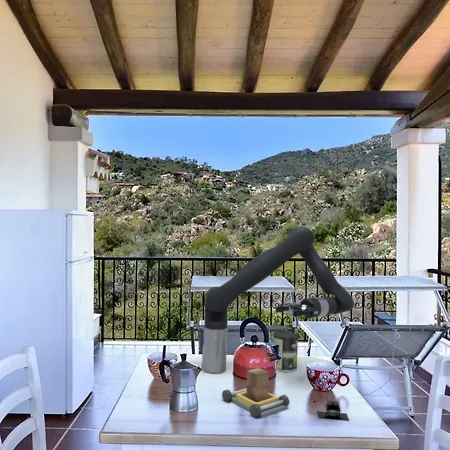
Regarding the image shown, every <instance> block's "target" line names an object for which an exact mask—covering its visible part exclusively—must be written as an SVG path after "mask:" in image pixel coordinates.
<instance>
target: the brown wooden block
mask: <svg viewBox="0 0 450 450" xmlns="http://www.w3.org/2000/svg"><path fill="white" fill-rule="evenodd" d="M246 372H247V373H246V374H247V375H246V377H247V378H246V388H247V398H248V399H250V400H252V401H254V402H256V403H257V402H260V401H264V400H267V399H268V393H269V385H270V384H269V382H270V381H269V380H270V371H267V370H264V369H262V368H259V367H257V368H253V369H248V370H247V371H246Z"/></svg>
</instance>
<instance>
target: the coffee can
mask: <svg viewBox="0 0 450 450" xmlns="http://www.w3.org/2000/svg"><path fill="white" fill-rule="evenodd" d="M272 334H273V340H272V341H273V344H275V345H279V351H280V354H281V359H280V360H277V361H276V369H277V370H278V371H277V370H276V371H277V372H283V373H292V372H293V373H294V372H296V371H297V370H298V350H299V349H298V345H299V334H298V333H295V332H293V331H292V332H291V331H281V330H280V331H274V332H273V333H272ZM273 344H272V345H273Z"/></svg>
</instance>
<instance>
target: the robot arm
mask: <svg viewBox="0 0 450 450" xmlns="http://www.w3.org/2000/svg"><path fill="white" fill-rule="evenodd" d="M314 241H315V234H314V232H313V231H312V230H311V229H310V228H308V227H306V226H296V227H294V228H292V229H291V230H290V231H289V234H288V237H286V238H285V239H284V240H283V241H281V242H280V243H278V244H276V245H275V246H273V247H271V248H269V249H267V250H265V251H263V252H262V253H259V254H258V255H256V256H255V257H254V258H252V259H251V260H249V261H248V262H247V263H246V264H245V265H244V266H242V268H241V269H239V271H237V272H236V274H235V275H233V277H232V278H230V279H229V280H228V281H226V282H225V283H223V284H221V285H220V286H212V287H211V288H209V289H208V290H207V291H206V293H205V301H204V331H203V332H204V333H203V334H204V335H203V337H204V338H203V344H202V353H201V356H202V357H201V358H202V359H201V368H202V370H203V371H204V372H206V373H208V374H209V373H210V374H221V373H224V372H226V371H227V347H228V343H227V342H228V306H230V305H231V304H232V303H233V302H234V301H235V300H237V298H239V297H240V296H241V295H242V294H244V293H245V292H247V291H249V290H251V289H252V288H254V287H255V286H257V285H258V284H260V283H262V282H263V281H265V279H266V278H268V277H269V276H271V275H272V274H273V273H275V272H276V271H277V270H278V269H280V268H281V267H282V266H284V264H285V263H287V262H288V261H289V260H290V259H292V258H294V257H295V256H297V255H300V257H301V258H302V260H303V261H304V262H305V264H306V266H307V267H308V268H309V270H310V272H311V273H312V275H313V277H314V279H315V280H316V282H317V284H318V286H319V287H320V288H321V290H322V292H323V293H324V294H325V295H333V296H331V297H330V296H322V297H319V296H318V297H316V296H315V297H309V298H308V297H307V298H303V299H302V300H301V301H300V303H298V302H297V303H293V302H288V303H280V305H278V306H276V307H275V313H277V314H278V313H289V314H292V317H293V318H298V317H303V318H305V319H308V320H309V319H315V318H321V317H324V316H329V315H338V314H341V313H346V312H349V311H352V310H353V309H354V307H355V301H354V298H353V297H352V295H351V294H350V293H349V292H348V291H347V290H346V289H345V288H344V287H343V286H342V285H341V284H340V283H339V281H338V280H337V279H336V277H335V275H334V274H333V272H332V270H331V269H330V268H329V266H328V265H327V264H326V262H324V260H323V259H322V258H321V257H320V255H319V253H318V252H317V251H316V249H315V246H314V245H313V244H314Z"/></svg>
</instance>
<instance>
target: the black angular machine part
mask: <svg viewBox="0 0 450 450" xmlns="http://www.w3.org/2000/svg"><path fill="white" fill-rule="evenodd" d="M340 406H341V405H340V403H339V401H334V400H333V401H332V400H326V403H325V405H324V409H325V410H323V411H321V410H317V411H316V413H317V418H318V419H320V420H321V419H323V420H335V421H343V422H344V421H345V422H350V419H349V416H348V414H347V412H346V413H345V412H341V411H342V410H341V407H340Z"/></svg>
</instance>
